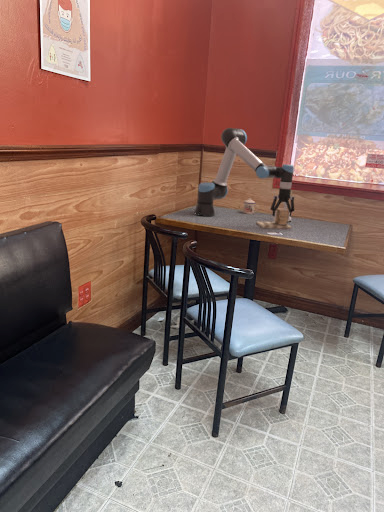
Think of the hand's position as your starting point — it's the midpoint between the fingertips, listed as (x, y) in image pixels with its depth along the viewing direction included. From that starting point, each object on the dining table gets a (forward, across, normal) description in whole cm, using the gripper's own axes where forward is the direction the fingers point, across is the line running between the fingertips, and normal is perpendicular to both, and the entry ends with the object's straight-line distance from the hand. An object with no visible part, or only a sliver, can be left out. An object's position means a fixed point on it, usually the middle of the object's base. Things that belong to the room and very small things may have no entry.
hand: (280, 220), depth 274 cm
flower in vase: (+4, +11, +21) cm, 24 cm away
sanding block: (+2, 0, 0) cm, 2 cm away
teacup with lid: (+4, -7, +46) cm, 47 cm away
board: (+4, -5, 0) cm, 6 cm away
